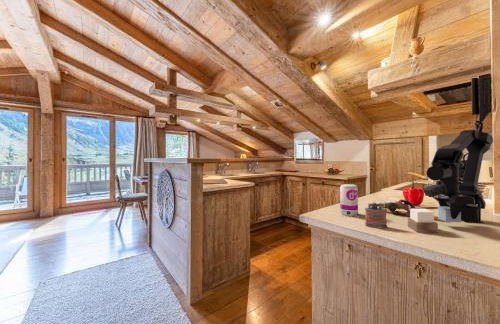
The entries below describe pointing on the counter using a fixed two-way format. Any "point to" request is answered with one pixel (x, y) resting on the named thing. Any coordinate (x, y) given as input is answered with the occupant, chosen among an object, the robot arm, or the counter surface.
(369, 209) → the lighter
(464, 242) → the counter surface
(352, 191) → the supplement can
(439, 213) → the slate block
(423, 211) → the cream middle block
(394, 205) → the dark brown irregular piece
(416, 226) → the walnut base block
